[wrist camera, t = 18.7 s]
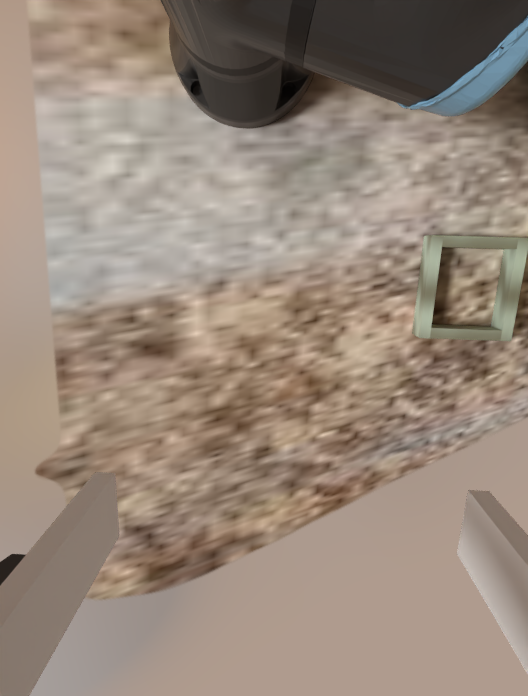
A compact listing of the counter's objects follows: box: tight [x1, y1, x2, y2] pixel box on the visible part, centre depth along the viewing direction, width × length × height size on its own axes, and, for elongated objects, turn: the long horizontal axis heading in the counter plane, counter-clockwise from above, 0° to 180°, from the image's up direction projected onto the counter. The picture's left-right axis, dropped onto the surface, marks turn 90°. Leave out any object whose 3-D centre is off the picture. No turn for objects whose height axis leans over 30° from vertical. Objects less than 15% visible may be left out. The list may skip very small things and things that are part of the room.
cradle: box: [412, 235, 528, 341], centre depth 45 cm, size 11×10×2 cm
